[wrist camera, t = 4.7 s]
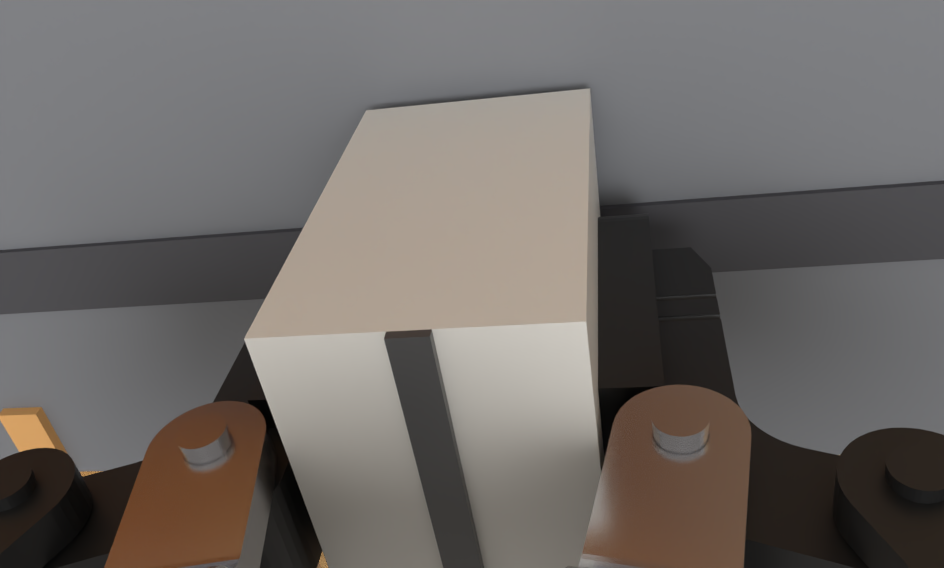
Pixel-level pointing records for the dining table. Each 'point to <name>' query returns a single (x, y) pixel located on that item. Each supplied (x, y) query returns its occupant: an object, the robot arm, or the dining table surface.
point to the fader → (445, 338)
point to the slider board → (449, 80)
